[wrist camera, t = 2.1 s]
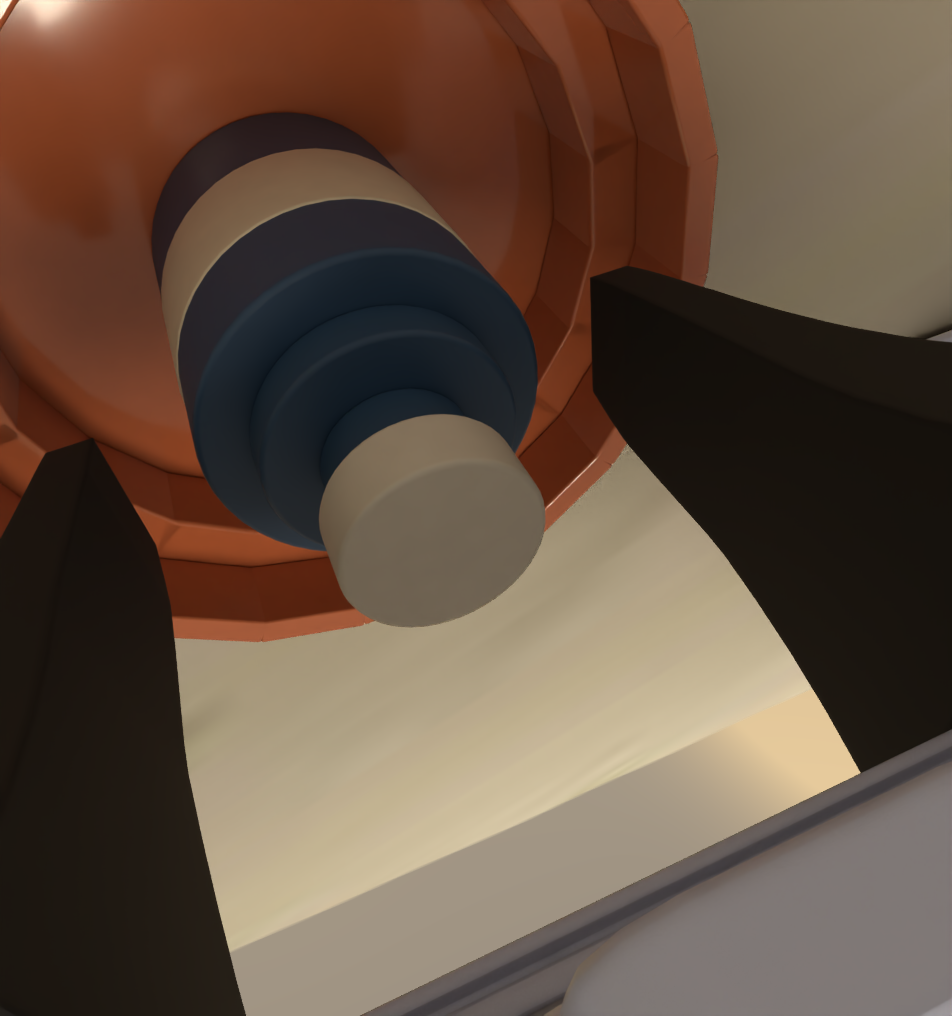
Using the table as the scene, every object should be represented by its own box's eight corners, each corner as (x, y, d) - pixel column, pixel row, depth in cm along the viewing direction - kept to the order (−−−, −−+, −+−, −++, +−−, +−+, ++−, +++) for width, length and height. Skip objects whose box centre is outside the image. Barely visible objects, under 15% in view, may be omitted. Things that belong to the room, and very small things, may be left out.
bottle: (388, 77, 14) (643, 297, 8) (433, 325, 18) (634, 607, 12) (99, 151, 13) (143, 462, 7) (207, 397, 17) (298, 745, 11)
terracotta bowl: (603, -329, 12) (766, -361, 9) (608, 411, 22) (689, 500, 19) (-460, -152, 10) (-666, -126, 7) (85, 597, 20) (91, 731, 17)
